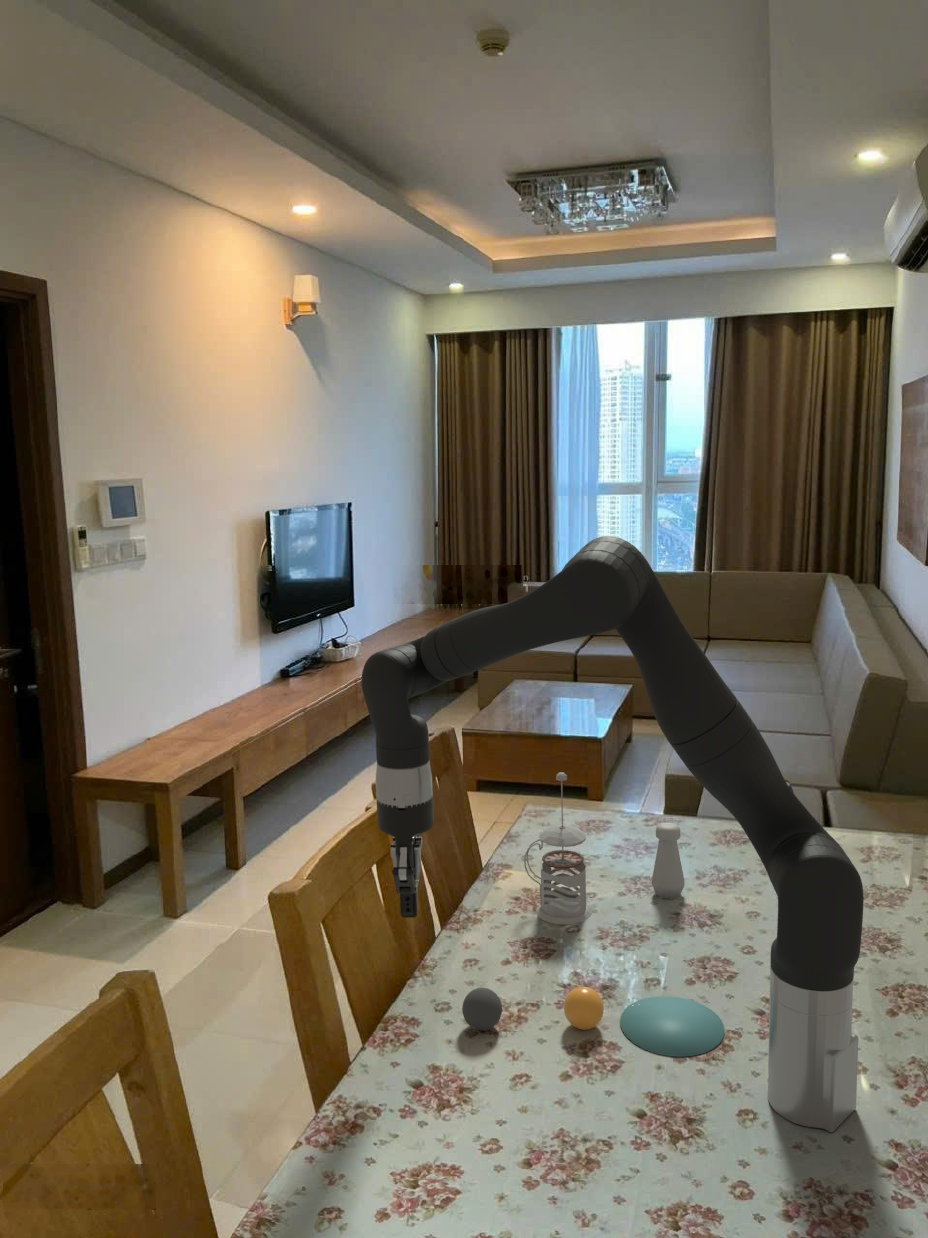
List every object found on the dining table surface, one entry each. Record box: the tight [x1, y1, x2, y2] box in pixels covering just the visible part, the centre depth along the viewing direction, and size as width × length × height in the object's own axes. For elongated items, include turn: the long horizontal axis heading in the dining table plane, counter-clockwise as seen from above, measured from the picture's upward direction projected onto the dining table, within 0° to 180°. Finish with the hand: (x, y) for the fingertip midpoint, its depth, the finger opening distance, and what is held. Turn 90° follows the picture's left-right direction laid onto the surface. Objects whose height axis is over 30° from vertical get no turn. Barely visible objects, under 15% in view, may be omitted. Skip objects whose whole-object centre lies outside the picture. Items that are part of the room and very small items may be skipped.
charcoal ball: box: [461, 987, 503, 1031], centre depth 133 cm, size 6×6×6 cm
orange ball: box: [563, 986, 605, 1031], centre depth 133 cm, size 6×6×6 cm
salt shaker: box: [651, 822, 686, 900], centre depth 171 cm, size 6×6×13 cm
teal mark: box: [619, 995, 725, 1058], centre depth 133 cm, size 14×14×1 cm
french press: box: [523, 771, 593, 925], centre depth 165 cm, size 10×12×25 cm
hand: (409, 915), depth 131 cm, fingers closed
